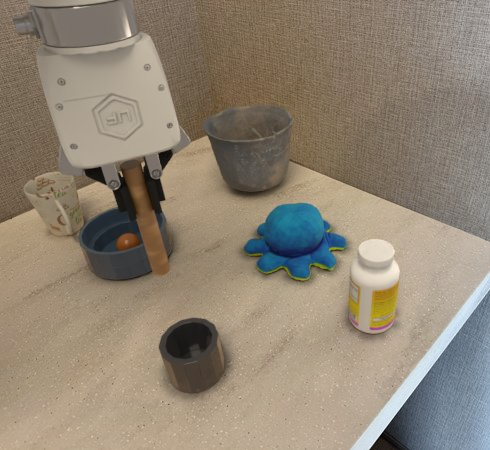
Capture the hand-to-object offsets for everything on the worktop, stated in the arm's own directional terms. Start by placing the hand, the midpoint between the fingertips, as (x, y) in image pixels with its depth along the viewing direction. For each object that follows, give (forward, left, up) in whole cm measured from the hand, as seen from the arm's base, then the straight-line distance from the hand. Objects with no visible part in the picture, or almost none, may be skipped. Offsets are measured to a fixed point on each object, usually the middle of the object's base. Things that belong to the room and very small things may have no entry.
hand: (143, 210), depth 47 cm
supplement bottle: (+26, -7, -24) cm, 36 cm away
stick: (0, 0, -9) cm, 9 cm away
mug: (-11, +39, -24) cm, 47 cm away
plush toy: (+24, +13, -24) cm, 36 cm away
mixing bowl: (-2, +26, -24) cm, 35 cm away
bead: (-2, +25, -21) cm, 33 cm away
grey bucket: (+26, +36, -24) cm, 50 cm away
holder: (+1, -3, -24) cm, 24 cm away
